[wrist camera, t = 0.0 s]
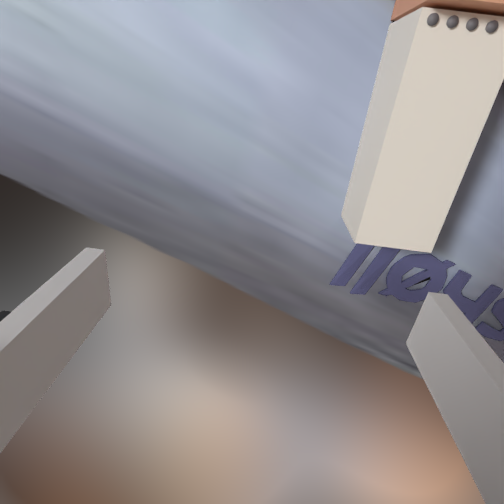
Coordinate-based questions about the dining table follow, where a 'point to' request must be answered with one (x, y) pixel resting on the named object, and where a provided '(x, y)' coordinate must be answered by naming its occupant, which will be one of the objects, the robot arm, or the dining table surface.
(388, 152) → the pad
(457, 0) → the tan box
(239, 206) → the dining table surface
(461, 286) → the signage
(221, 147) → the dining table surface
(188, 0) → the dining table surface
